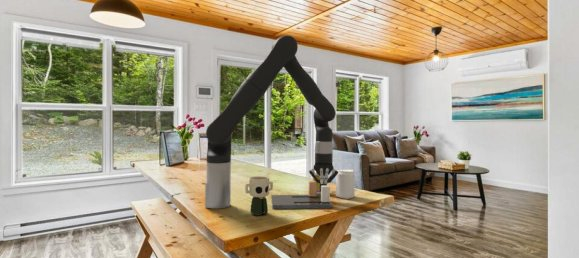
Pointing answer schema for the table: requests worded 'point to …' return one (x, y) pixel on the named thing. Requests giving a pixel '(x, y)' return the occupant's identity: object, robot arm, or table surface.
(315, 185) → the terracotta fader
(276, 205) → the board
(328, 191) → the block
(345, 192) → the beverage can
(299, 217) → the table surface
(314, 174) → the supplement bottle
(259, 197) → the character mug
